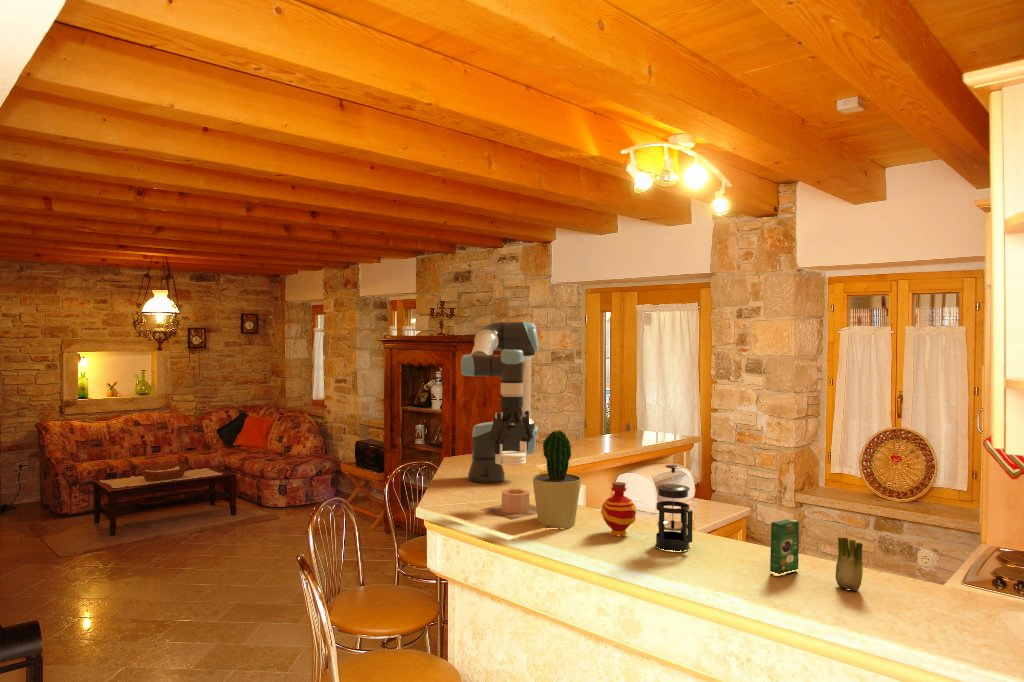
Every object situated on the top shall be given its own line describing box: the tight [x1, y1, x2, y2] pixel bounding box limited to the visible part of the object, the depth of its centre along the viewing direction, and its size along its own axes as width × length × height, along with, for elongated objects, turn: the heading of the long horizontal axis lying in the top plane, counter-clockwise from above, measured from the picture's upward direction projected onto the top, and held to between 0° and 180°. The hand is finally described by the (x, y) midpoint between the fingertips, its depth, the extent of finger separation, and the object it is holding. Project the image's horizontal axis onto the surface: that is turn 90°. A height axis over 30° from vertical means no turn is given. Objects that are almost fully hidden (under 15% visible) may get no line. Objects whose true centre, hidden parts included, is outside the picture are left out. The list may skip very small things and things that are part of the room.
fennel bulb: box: [834, 536, 864, 591], centre depth 159 cm, size 6×5×12 cm
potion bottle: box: [600, 481, 637, 536], centre depth 203 cm, size 10×10×15 cm
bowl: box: [501, 488, 530, 514], centre depth 225 cm, size 9×9×6 cm
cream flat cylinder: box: [500, 451, 527, 467], centre depth 227 cm, size 10×10×4 cm
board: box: [479, 503, 537, 520], centre depth 225 cm, size 18×16×1 cm
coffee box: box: [769, 518, 800, 574], centre depth 170 cm, size 8×3×13 cm, turn 122°
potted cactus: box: [532, 429, 582, 530], centre depth 213 cm, size 15×15×30 cm
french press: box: [655, 464, 694, 551], centre depth 190 cm, size 12×9×23 cm
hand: (511, 462), depth 227 cm, fingers closed on cream flat cylinder, 10 cm apart
